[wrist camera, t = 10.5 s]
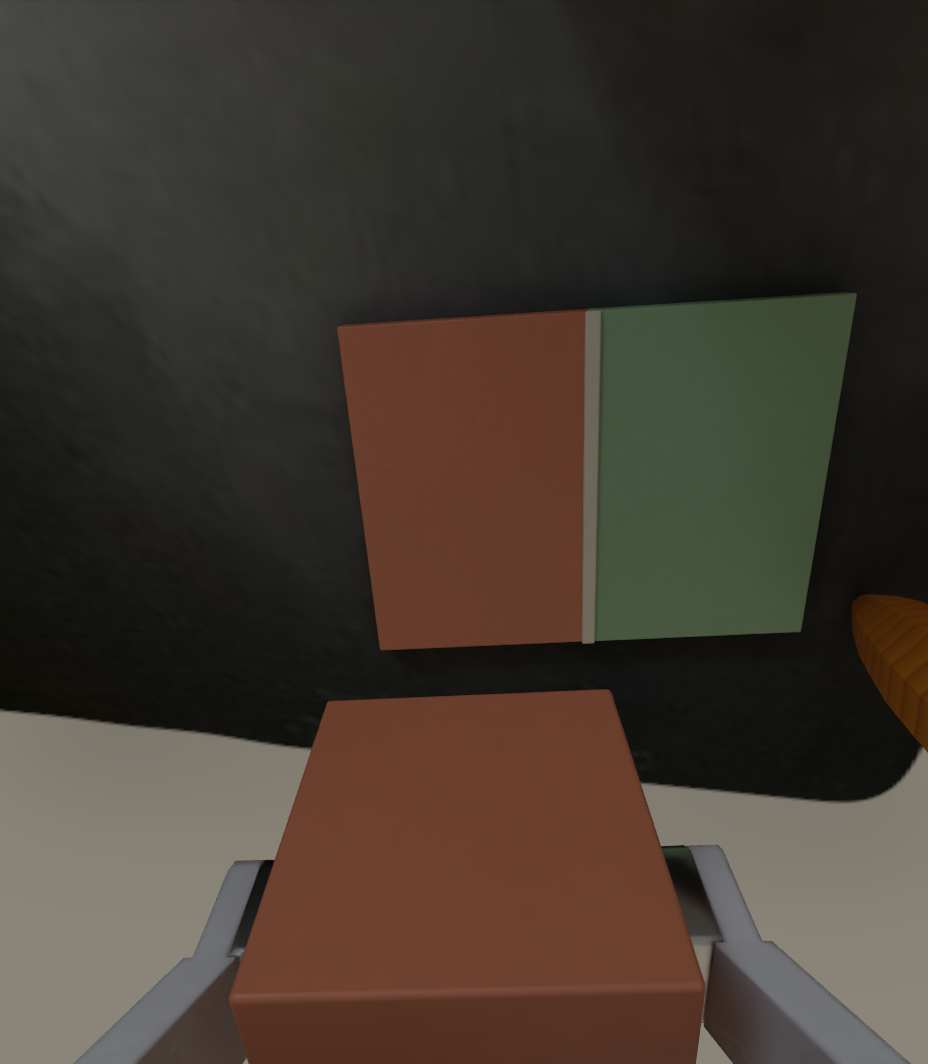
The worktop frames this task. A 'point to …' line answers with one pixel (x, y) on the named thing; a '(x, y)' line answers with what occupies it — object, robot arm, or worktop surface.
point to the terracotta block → (470, 895)
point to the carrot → (896, 655)
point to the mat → (594, 468)
